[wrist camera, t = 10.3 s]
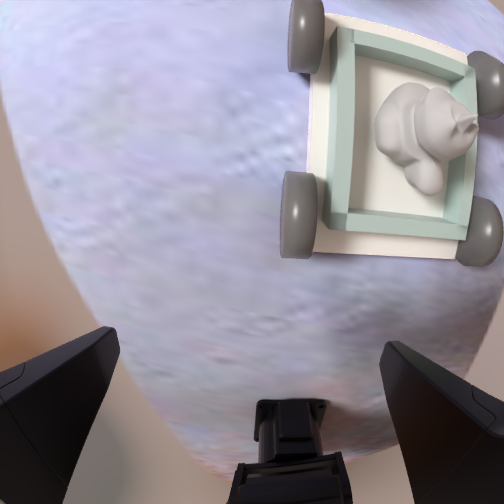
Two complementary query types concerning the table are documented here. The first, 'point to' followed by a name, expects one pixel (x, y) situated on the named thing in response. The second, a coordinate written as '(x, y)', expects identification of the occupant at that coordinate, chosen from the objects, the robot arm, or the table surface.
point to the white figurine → (423, 132)
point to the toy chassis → (366, 153)
